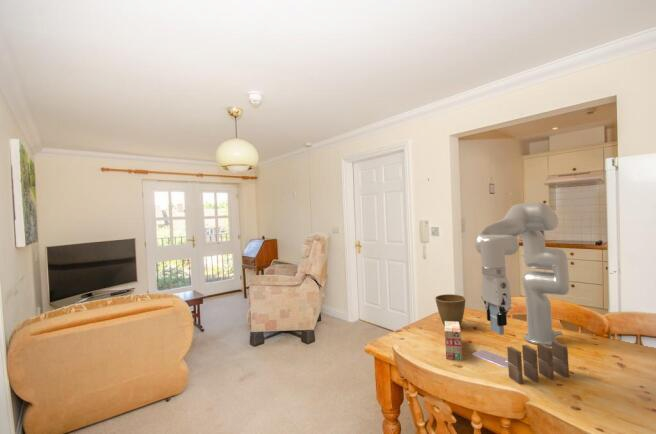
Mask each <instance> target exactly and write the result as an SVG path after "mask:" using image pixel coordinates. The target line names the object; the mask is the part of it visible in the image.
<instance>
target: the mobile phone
mask: <svg viewBox="0 0 656 434" xmlns="http://www.w3.org/2000/svg"><path fill="white" fill-rule="evenodd" d="M471 355H472V356H474V357H476V358H479V359H481V360H484V361H486V362H489V363H492V364H494V365H496V366H499V367H501V368H508V357H505V356H502V355H498V354H496V353H493V352H491V351H488V350H485V349H479V350H477V351H475V352H473V353H472V354H471Z"/></svg>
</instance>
